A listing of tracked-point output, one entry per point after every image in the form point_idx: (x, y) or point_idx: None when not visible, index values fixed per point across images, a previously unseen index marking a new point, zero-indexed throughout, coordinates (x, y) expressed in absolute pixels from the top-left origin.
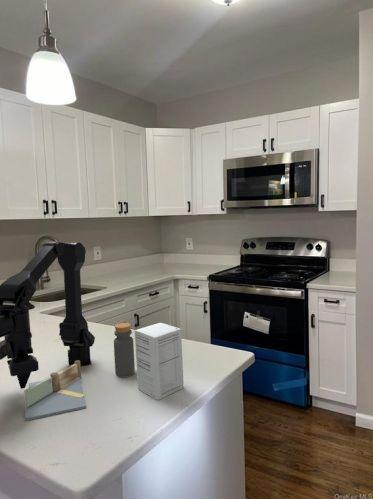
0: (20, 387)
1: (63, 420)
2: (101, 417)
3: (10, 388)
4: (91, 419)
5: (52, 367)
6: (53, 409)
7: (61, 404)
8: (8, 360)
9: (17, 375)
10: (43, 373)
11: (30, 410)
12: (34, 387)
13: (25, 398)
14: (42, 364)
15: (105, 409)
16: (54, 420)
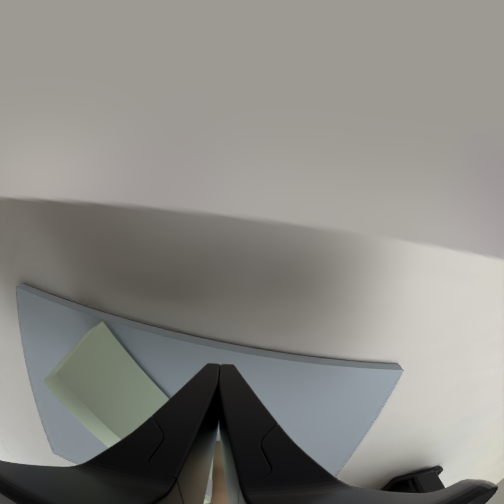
0: (203, 367)
1: (5, 381)
2: (11, 437)
3: (435, 278)
4: (5, 422)
5: (456, 428)
6: (48, 393)
7: (77, 424)
8: (482, 500)
9: (119, 445)
10: (446, 408)
11: (68, 327)
12: (88, 427)
13: (78, 346)
14: (499, 394)
15: (42, 461)
16: (7, 364)
